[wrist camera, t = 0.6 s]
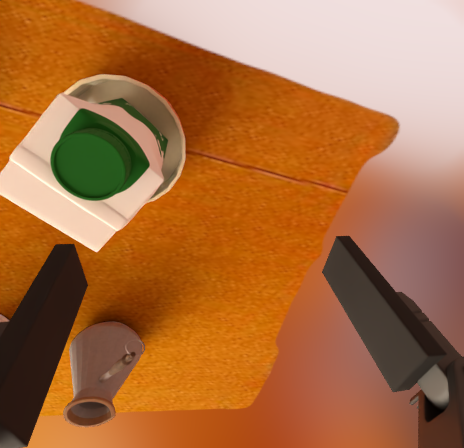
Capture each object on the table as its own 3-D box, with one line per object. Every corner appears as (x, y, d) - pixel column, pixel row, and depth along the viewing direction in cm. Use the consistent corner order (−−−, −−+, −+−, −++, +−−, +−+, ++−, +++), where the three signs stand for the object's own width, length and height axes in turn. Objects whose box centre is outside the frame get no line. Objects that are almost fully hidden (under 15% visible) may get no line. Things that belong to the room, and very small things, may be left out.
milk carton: (178, 140, 34) (176, 189, 16) (134, 189, 36) (89, 281, 18) (120, 84, 30) (35, 71, 13) (74, 142, 32) (-57, 202, 14)
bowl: (54, 71, 29) (34, 68, 25) (184, 82, 32) (184, 80, 28) (78, 193, 35) (65, 206, 31) (185, 193, 38) (186, 205, 34)
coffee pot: (128, 364, 51) (110, 459, 38) (66, 350, 47) (20, 451, 33) (181, 284, 45) (181, 364, 31) (114, 259, 40) (82, 339, 27)
